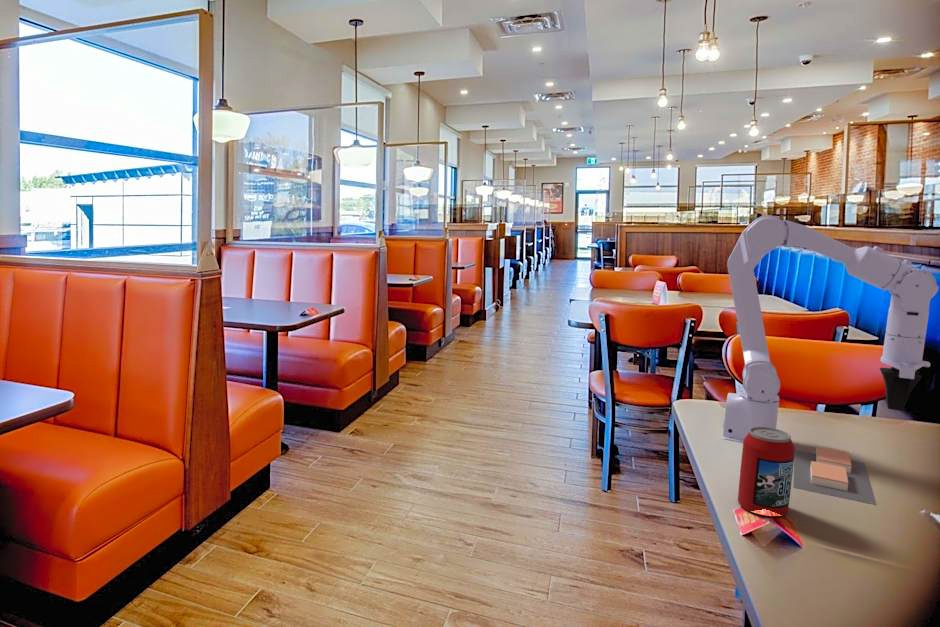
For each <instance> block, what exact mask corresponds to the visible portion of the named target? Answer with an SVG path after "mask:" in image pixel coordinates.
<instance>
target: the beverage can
mask: <svg viewBox="0 0 940 627" xmlns="http://www.w3.org/2000/svg"><path fill="white" fill-rule="evenodd" d="M795 450H796V447H795V445H794V442H793V440H792V436H791V434H789V433H787V432H786V431H784V430H781V429H778V428H776V429H774V428H768V427H754V428H751V429H750V432H749V433H748V434H747V436H746V437H745V438H744V441H743V443H742V452H741V460H740V469H739V470H740V471H739V482H738V495H737V502H738V504H739V505H740V507H742V508H743V509H744V510H746V511H747V510H748V511H747V512H749V511H755V510H762V509H766V510H770V511H772V512H775V513H777V514H780V515H782V516H785V515H787V514H788V513H789V507H790V506H789V505H790V497H791V491H792V484H793V482H792V481H793V475H794V455H795ZM782 516H781V517H782Z"/></svg>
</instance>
